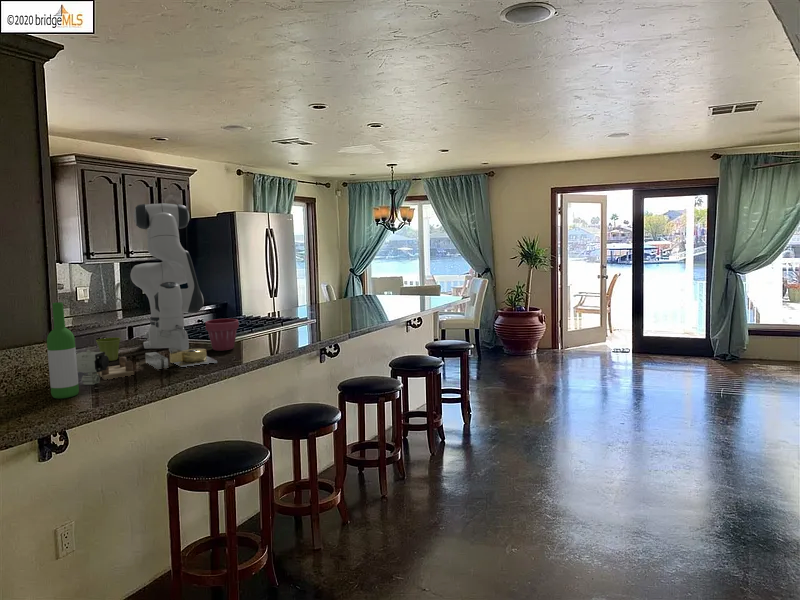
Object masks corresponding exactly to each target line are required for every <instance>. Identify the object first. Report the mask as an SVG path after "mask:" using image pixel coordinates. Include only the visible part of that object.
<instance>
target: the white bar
mask: <svg viewBox="0 0 800 600" xmlns="http://www.w3.org/2000/svg"><path fill="white" fill-rule="evenodd" d="M144 355H145V356H144V357H145V364H147V363H148V364H149V365H148V364H147V365H148V366H150V365H151V366H153V367H154V368H153V367H152V368H153V369H155V368H156V369H163V368H169V358H168V357H166V356H164V355H162V354H160V353H158V352H157V351H153V352H145V353H144ZM151 366H150V367H151ZM162 367H163V368H162ZM156 369H155V370H156Z"/></svg>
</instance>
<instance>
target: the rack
mask: <svg viewBox="0 0 800 600" xmlns="http://www.w3.org/2000/svg"><path fill="white" fill-rule="evenodd" d="M118 362H119V365H112V366H109V365H108V367H107V368H106V370H103V371H101V372H95V374H98V376H99V377H100V378H101V377H102V378H101V379H102V380H104V381H106V380H107V379H108V380H112V379H113V378H115V379H119V378H118V377H122V378H126V377H125V376H128V377H132V376H131V375H134V376H135V371H134V369H133V360H127V356H118ZM113 380H114V379H113Z"/></svg>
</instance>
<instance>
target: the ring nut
mask: <svg viewBox="0 0 800 600" xmlns="http://www.w3.org/2000/svg"><path fill="white" fill-rule="evenodd" d="M207 356H208V353H207V349H206V348H188V350H182V351H180V350H179V351H177V352H176V353H170V352H169V363H171V364H173V363H175V362H198V361H203V360H206V359H207Z"/></svg>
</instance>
